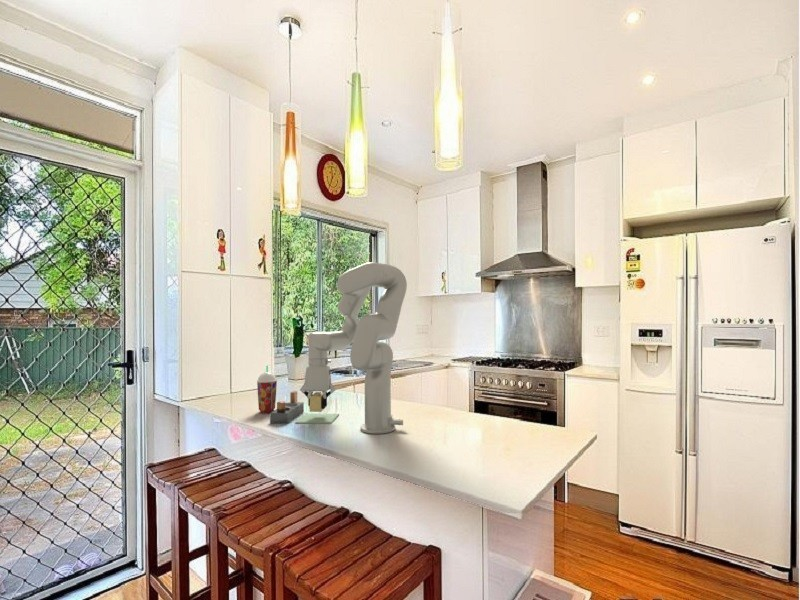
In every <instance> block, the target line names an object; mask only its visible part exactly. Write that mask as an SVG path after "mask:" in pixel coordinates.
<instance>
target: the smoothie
mask: <svg viewBox="0 0 800 600" xmlns="http://www.w3.org/2000/svg"><path fill="white" fill-rule="evenodd" d="M265 367H266V368H265V370H266V371H264V372H263V373H261V374H260V375H259V377H258V378H257V380H256V381H257V383H256V387H257V404H258V411H259V413H260V414H270V413H271V412H273V411H274V410H276V403H277V402H276V400H277V385H278V379H277V378H276V375H275V374H274V373H272V372H271V371H269V365H266V366H265Z"/></svg>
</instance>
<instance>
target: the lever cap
mask: <svg viewBox="0 0 800 600" xmlns="http://www.w3.org/2000/svg"><path fill="white" fill-rule="evenodd" d="M322 399H323V394H322V391H315V392H313V394H312V395H311V396H310V409H309V412H312V413H321V412H323V411H324V410H325V408H324V409H322Z"/></svg>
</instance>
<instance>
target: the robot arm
mask: <svg viewBox="0 0 800 600" xmlns="http://www.w3.org/2000/svg"><path fill="white" fill-rule="evenodd" d="M372 287H375V288H384V291H383V293H382V294H381V296H379V300H378V303H377V307H376V310H375V312H373V313H367V314H366V313H365V314H364V315H363V316H362V317H360V318H358V315H359V313H360V312H361V309H362V307H363V305H364V304H365V301H366V300H367V298H368V296H369V294H370V291H371V290H372ZM407 287H408V282H407V278H406V276H405V274H404V273H403V271H402V270H401V269H399V268H398V267H396V266H395V265H391V264H387V263H386V264H385V263H380V262H375V261H372V262H366V263H362V264H361V265H358V266H356V267H354V268H351V269H348V270H347V271H345V272H343V273H341V275H339V277H338V279H337V282H336V288H337V290H338V292H339V293H340V294H341V295H342V296H341V298H340V300H339V302H338V304H337V310H338V311H339V313H340V314H341V315H342V316H344V322H343V325H342V327H341V329H340V330H339V331H327V332H326V331H312V332H310V333H308V363H307V364H308V365H307V366H306V367H305V368H306V369H305V375H304V382H303V385H302V386H301V387H300V388H299V391H300V392H301V393H302V394H304V395H305V396H306V398H307V400H308V401H307V404H308V407H309V410H310V396H311V395H312V394H314V392H321V393H322V394H323V399H322V409H324V408H326V407H327V406H328V398H329V397H330V395H331V394H333V393H334V392H336V388H335V387H334V385H333V384H332V375H331V367H330V365H328V364H331V363H332V360H331V359H329V358H328V352H333V351H342V350H346V349H348V348H349V347H350V346H351V349H350V352H349V354H350V358H349V360H350V363H351V365H352V367H353V368H354V369H355V370H357V371H365V377H364V423H363V424H362V425H360V431H361V432H363V433H365V434H373V435H374V434H375V435H379V434H380V435H382V434H389V433H392V432H393V431H395V430H396V426H403V425H404V419H401V418H394V417H393V414H392V409H391V408H392V406H391V405H392V399H391V398H392V395H391V392H392V391H391V387H392V382H391V380H392V365H393V361H394V352H393V349H392V347H391V346H390V345H389V344H388V343H387V342H384V341H383V340H389V339H391V338H393V337H394V335H395V333H396V331H397V327H398V323H399V319H400V315H401V311H402V306H403V302H404V300H405V296H406V293H407V289H408V288H407ZM324 410H325V409H324Z"/></svg>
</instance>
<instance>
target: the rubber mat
mask: <svg viewBox="0 0 800 600" xmlns="http://www.w3.org/2000/svg"><path fill="white" fill-rule="evenodd" d="M339 416H340V413H305V414H304V415H303V416H301V417H300V418H299V419H297V420H296V421H295V424H297V425H302V424H303V425H304V424H305V425H312V424H314V425H332V424H333V423H334V422H335V420H336V419H337V418H338V417H339Z"/></svg>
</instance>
